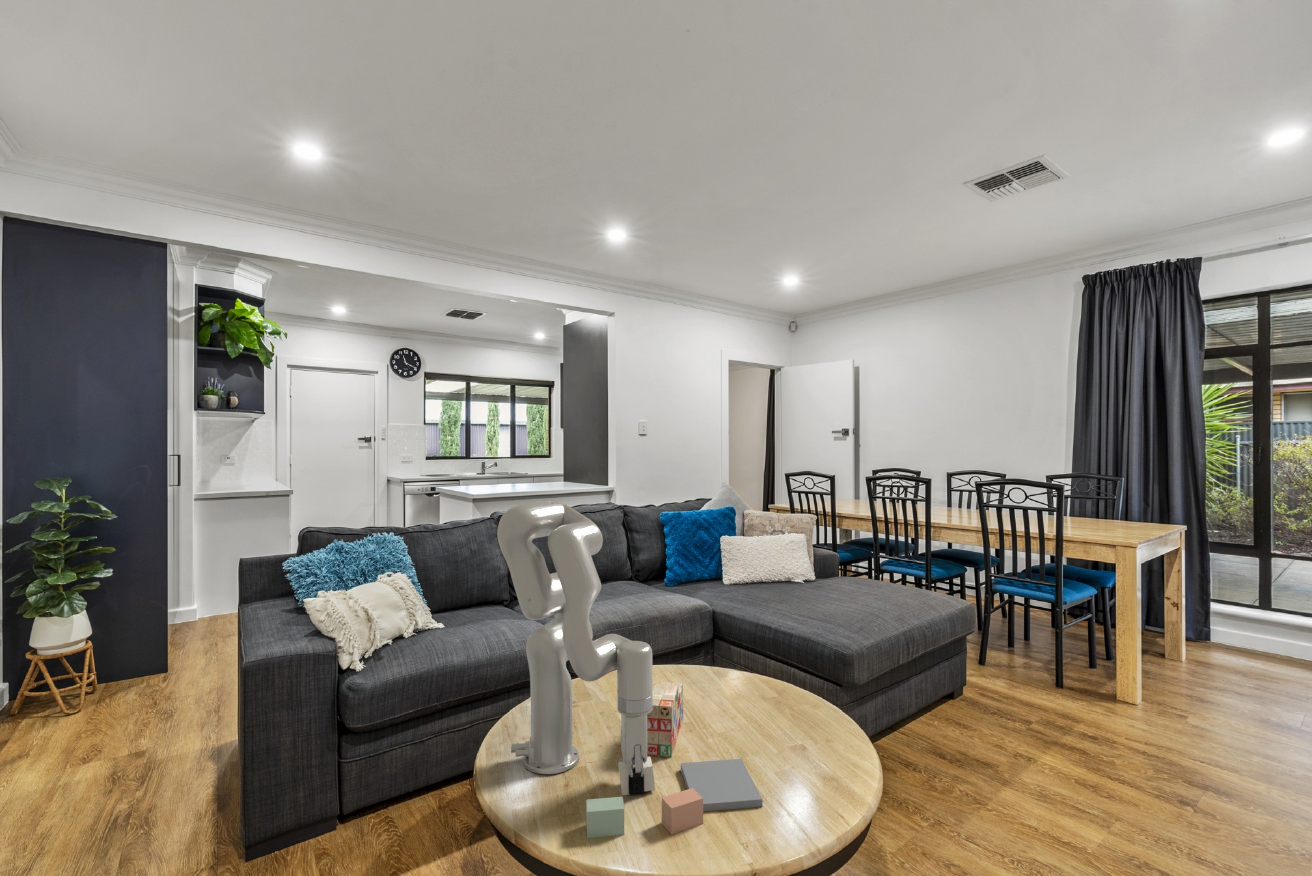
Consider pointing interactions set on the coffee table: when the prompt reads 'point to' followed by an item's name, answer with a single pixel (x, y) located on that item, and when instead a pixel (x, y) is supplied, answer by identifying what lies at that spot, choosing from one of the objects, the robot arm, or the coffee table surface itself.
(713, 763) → the slate board
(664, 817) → the terracotta brick
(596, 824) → the sage brick
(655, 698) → the stack of blocks
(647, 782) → the ivory brick
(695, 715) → the coffee table surface
